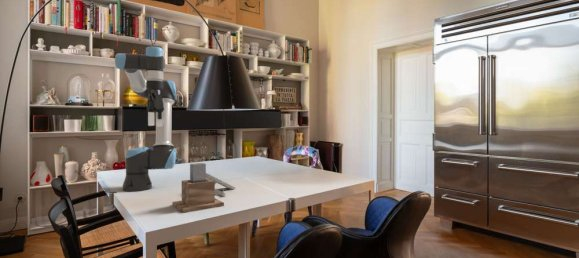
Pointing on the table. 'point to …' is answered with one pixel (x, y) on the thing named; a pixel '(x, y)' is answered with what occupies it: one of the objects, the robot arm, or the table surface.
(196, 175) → the steel bracket
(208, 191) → the brown wooden stand
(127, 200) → the table surface
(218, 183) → the door handle
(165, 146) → the robot arm
